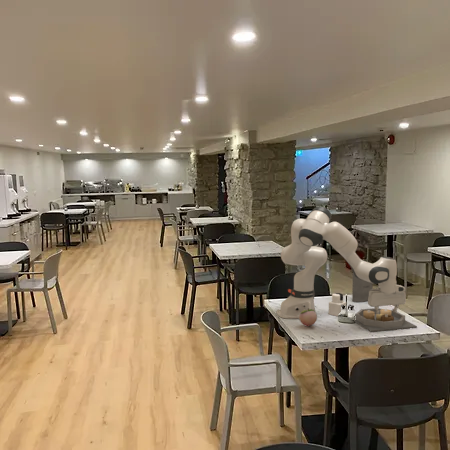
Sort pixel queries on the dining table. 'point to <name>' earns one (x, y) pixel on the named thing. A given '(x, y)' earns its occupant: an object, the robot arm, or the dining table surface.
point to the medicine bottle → (336, 304)
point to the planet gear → (387, 318)
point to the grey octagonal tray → (374, 323)
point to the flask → (360, 290)
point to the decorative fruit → (308, 317)
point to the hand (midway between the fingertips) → (386, 313)
